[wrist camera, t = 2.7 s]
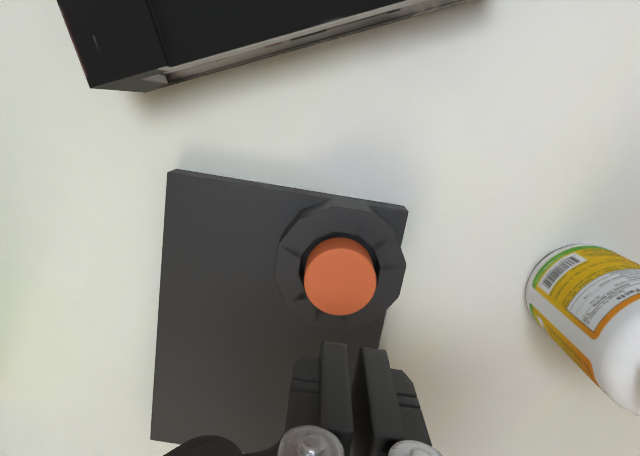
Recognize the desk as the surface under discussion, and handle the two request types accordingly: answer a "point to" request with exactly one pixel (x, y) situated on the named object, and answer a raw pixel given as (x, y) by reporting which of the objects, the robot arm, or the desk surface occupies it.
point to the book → (211, 33)
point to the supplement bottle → (593, 315)
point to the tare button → (339, 276)
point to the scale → (254, 301)
